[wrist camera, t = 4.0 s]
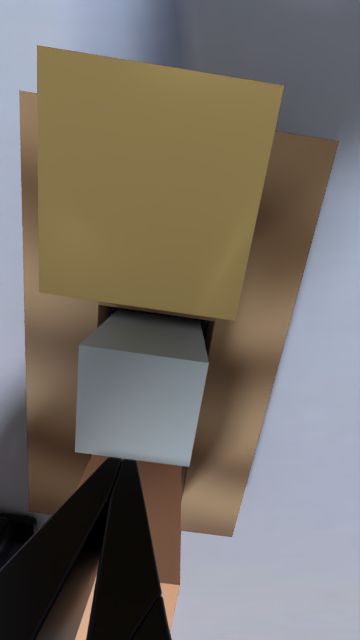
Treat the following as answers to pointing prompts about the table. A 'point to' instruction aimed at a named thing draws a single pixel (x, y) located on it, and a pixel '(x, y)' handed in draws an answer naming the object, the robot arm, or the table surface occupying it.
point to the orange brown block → (154, 528)
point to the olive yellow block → (149, 181)
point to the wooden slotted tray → (222, 335)
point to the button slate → (141, 388)
